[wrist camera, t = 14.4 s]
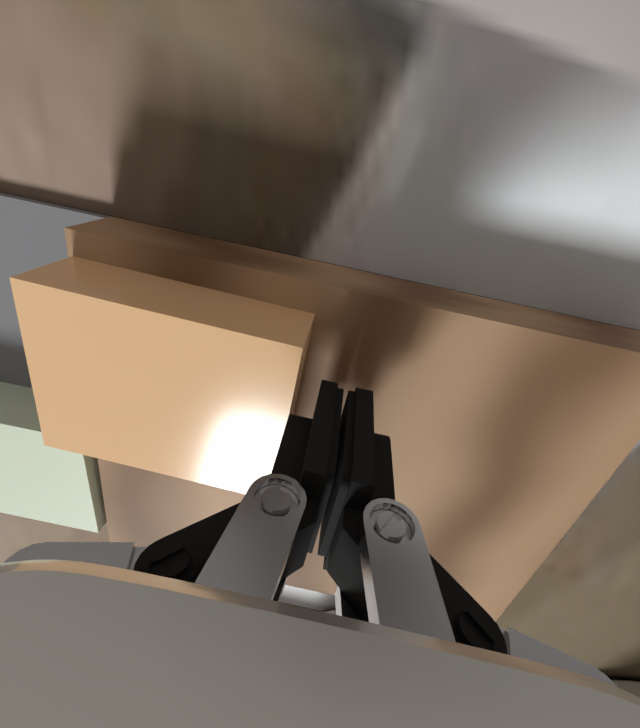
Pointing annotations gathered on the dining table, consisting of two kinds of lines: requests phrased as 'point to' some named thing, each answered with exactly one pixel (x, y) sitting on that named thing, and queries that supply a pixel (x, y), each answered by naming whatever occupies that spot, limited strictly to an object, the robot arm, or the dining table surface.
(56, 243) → the grey square tray
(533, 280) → the dining table surface
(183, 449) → the light orange flat block
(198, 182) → the dining table surface
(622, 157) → the dining table surface
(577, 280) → the dining table surface
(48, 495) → the sage tile
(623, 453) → the board
